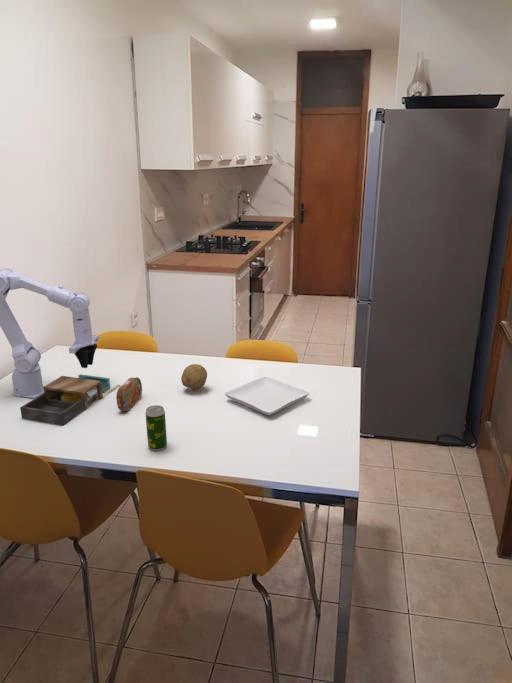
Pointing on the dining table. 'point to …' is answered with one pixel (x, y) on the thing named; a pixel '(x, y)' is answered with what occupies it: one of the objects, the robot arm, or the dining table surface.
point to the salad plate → (266, 395)
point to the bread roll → (71, 397)
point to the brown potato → (194, 377)
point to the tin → (129, 394)
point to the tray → (60, 415)
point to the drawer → (105, 386)
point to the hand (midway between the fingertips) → (87, 366)
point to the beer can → (156, 428)
